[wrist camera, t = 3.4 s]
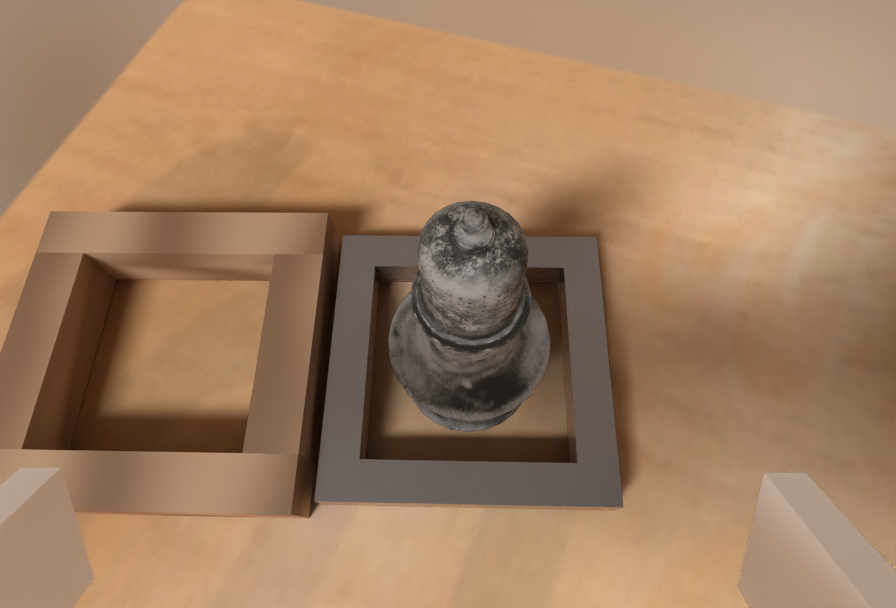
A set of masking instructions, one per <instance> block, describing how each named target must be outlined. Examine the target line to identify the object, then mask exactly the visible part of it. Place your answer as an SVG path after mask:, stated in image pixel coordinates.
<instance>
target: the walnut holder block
mask: <svg viewBox="0 0 896 608" xmlns="http://www.w3.org/2000/svg"><path fill="white" fill-rule="evenodd" d="M339 243H340V242H339V240H338V237H337V235H336V232H335V229H334V227H333V224H332V222H331V219H330V217H329V214H328V213H243V212H58V211H51V212H50V215H49V218H48V220H47V223H46V226H45V229H44V232H43V234H42V237H41V240H40V243H39V246H38V249H37V251H36V254H35V257H34V260H33V263H32V266H31V268H30V271H29V274H28V277H27V280H26V282H25V285H24V288H23V291H22V294H21V297H20V299H19V302H18V305H17V308H16V311H15V314H14V316H13V319H12V322H11V325H10V328H9V331H8V333H7V336H6V339H5V342H4V345H3V347H2V350H1V353H0V485H1V484H2V483H3V482H5V481H6V480H7V479H8V478H9V477H10V476H12V475H13V474H14V473H15V472H16V471H17V470H18V469H20V468H21V467H39V468H61V470H62V473H63V476H64V480H65V483H66V486H67V490H68V493H69V496H70V499H71V503H72V506H73V509H74V513H78V514H127V515H176V516H226V517H275V518H309V514H310V505H311V496H312V487H313V478H314V469H315V460H316V451H317V442H318V433H319V424H320V415H321V406H322V397H323V388H324V379H325V370H326V361H327V352H328V343H329V334H330V325H331V316H332V307H333V298H334V289H335V279H336V270H337V261H338V252H339ZM117 279H148V280H262V281H270V285H269V291H268V297H267V304H266V310H265V316H264V322H263V328H262V334H261V341H260V347H259V353H258V359H257V365H256V372H255V378H254V384H253V390H252V396H251V402H250V409H249V415H248V421H247V427H246V433H245V439H244V446H243V452H242V453H202V452H144V451H86V450H69V448H70V444H71V441H72V437H73V433H74V430H75V426H76V423H77V419H78V416H79V412H80V409H81V405H82V402H83V398H84V395H85V391H86V388H87V384H88V380H89V377H90V373H91V370H92V366H93V363H94V359H95V356H96V352H97V349H98V345H99V342H100V338H101V334H102V331H103V327H104V324H105V320H106V317H107V313H108V310H109V306H110V303H111V299H112V296H113V292H114V288H115V285H116V281H117Z"/></svg>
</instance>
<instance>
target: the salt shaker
mask: <svg viewBox="0 0 896 608" xmlns="http://www.w3.org/2000/svg"><path fill="white" fill-rule="evenodd" d="M528 253H529V252H528V248H527V243H526V238H525V234H524V233H523V231H522V229H521V227H520V225H519V223H518V222H517V221H516V220H515V219H514V218H513V217H512V216H511V215H510V214H509V213H507V212H505V211H504V210H502V209H501V208H499V207H497V206H494V205H491V204H488V203H485V202H477V201H466V202H457V203H454V204H452V205H449V206H446V207H444V208H442V209H441V210H439V211H438V212H436V213H435V214H434V215H433V216H432V217H431V218H430V219H429V220H428V221H427V222H426V224H425V226H424V228H423V230H422V232H421V234H420V237H419V241H418V247H417V257H418V265H419V270H418V272H417V275H416V277H415V279H414V281H413V285H412V290H411V291H410V293H409V294H408V295H407V296H406V297H405V298H404V299H403V300H402V302H401V303H400V305H399V307H398V309H397V311H396V313H395V315H394V317H393V319H392V323H391V328H390V333H389V338H388V343H389V356H390V361H391V364H392V367H393V369H394V372H395V375H396V377H397V380H398V381H399V382H400V384H401V385H402V386H403V388H404V389H405V391H406V392H407V393H408V395H409V396H410V397H411V398H412V399H413V401H414V402H415V403H416V405H417V406H418V407H419V409H420V410H421V411H422V413H424V414H425V415H426V416H427V417H429V418H430V419H431V420H432V421H434V422H435V423H437V424H439V425H442V426H444V427H446V428H449V429H451V430H458V431H465V432H471V431H479V430H486V429H488V428H491V427H493V426H496V425H498V424H500V423H502V422H503V421H505V420H506V419H507V418H508V417H510V416H511V415H512V414H514V413H515V411H516V410H517V409H518V407H519V406H520V405H521V403H522V402H523V401H525V400H526V399H527V398H529V396H530V395H531V394H532V392H533V391H534V390H535V388H536V387H537V386H538V384H539V383H540V382H541V380H542V378H543V375H544V372H545V370H546V367H547V364H548V362H549V354H550V341H551V340H550V335H549V330H548V325H547V320H546V318H545V316H544V314H543V312H542V310H541V308H540V307H539V305H538V303H537V302H536V300H535V299H534V298H533V297H532V296H531V293H530V288H529V283H528V281H527V279H526V277H525V273H526V269H527V264H528Z"/></svg>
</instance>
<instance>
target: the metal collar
mask: <svg viewBox="0 0 896 608" xmlns="http://www.w3.org/2000/svg"><path fill="white" fill-rule="evenodd" d="M419 237H420V236H372V235H343V241H342V250H341V259H340V268H339V278H338V287H337V296H336V305H335V315H334V324H333V333H332V342H331V351H330V361H329V370H328V379H327V388H326V398H325V407H324V416H323V425H322V434H321V444H320V453H319V462H318V471H317V481H316V490H315V499H314V502H317V503H320V504H324V505H374V506H425V507H476V508H527V509H578V510H615V509H619V508H623V499H622V489H621V479H620V469H619V459H618V449H617V438H616V428H615V418H614V408H613V398H612V388H611V378H610V367H609V357H608V347H607V337H606V327H605V317H604V306H603V296H602V286H601V276H600V266H599V256H598V245H597V237H526V236H525V238H526V243H527V248H528V252H529V253H528V264H527V269H526V273H525V277H526V279H527V281H528V283H558V287H559V302H560V318H561V333H562V349H563V364H564V380H565V395H566V411H567V426H568V442H569V457H570V463H545V462H488V461H430V460H373V459H366V453H367V440H368V427H369V414H370V400H371V387H372V374H373V361H374V348H375V335H376V321H377V308H378V295H379V282H413V281H414V279H415V277H416V275H417V272H418V270H419V265H418V257H417V247H418V241H419Z"/></svg>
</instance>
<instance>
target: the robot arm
mask: <svg viewBox="0 0 896 608" xmlns="http://www.w3.org/2000/svg"><path fill="white" fill-rule="evenodd" d="M93 580H94V575H93V572H92V569H91V565H90V562H89V559H88V555H87V552H86V549H85V546H84V542H83V539H82V536H81V532H80V529H79V526H78V523H77V519H76V516H75V513H74V509H73V506H72V503H71V499H70V496H69V493H68V490H67V486H66V483H65V480H64V476H63V473H62V470H61V468H39V467H21V468H20V469H18V470H17V471H16V472H15V473H14V474H13V475H12V476H10V477H9V478H8V479H7V480H6V481H5V482H3V483H2V484H1V485H0V608H73V607H74V606H75V604H76V603H77V601H78V600H79V599H80V597H81V596H82V595H83V593H84V592H85V591H86V589H87V588H88V587H89V585H90V584H91V583H92V581H93ZM738 587H739V589H740V591H741V593H742V595H743V596H744V598H745V600H746V602H747V604H748V605H749V607H750V608H896V572H895V571H894V570H893V568H892V567H891V566H890V565H889V564H888V563H887V562H886V561H885V560H884V558H883V557H882V556H881V555H880V554H879V553H878V552H877V551H876V550H875V548H874V547H873V546H872V545H871V544H870V543H869V542H868V541H867V540H866V539H865V537H864V536H863V535H862V534H861V533H860V532H859V531H858V530H857V529H856V527H855V526H854V525H853V524H852V523H851V522H850V521H849V520H848V519H847V517H846V516H845V515H844V514H843V513H842V512H841V511H840V510H839V509H838V507H837V506H836V505H835V504H834V503H833V502H832V501H831V500H830V499H829V497H828V496H827V495H826V494H825V493H824V492H823V491H822V490H821V489H820V487H819V486H818V485H817V484H816V483H815V482H814V481H813V480H812V479H811V478H810V476H809V475H808V474H807V473H764V476H763V480H762V484H761V489H760V493H759V497H758V501H757V506H756V510H755V514H754V518H753V523H752V527H751V531H750V536H749V540H748V544H747V548H746V553H745V557H744V561H743V565H742V570H741V574H740V578H739V583H738Z"/></svg>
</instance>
